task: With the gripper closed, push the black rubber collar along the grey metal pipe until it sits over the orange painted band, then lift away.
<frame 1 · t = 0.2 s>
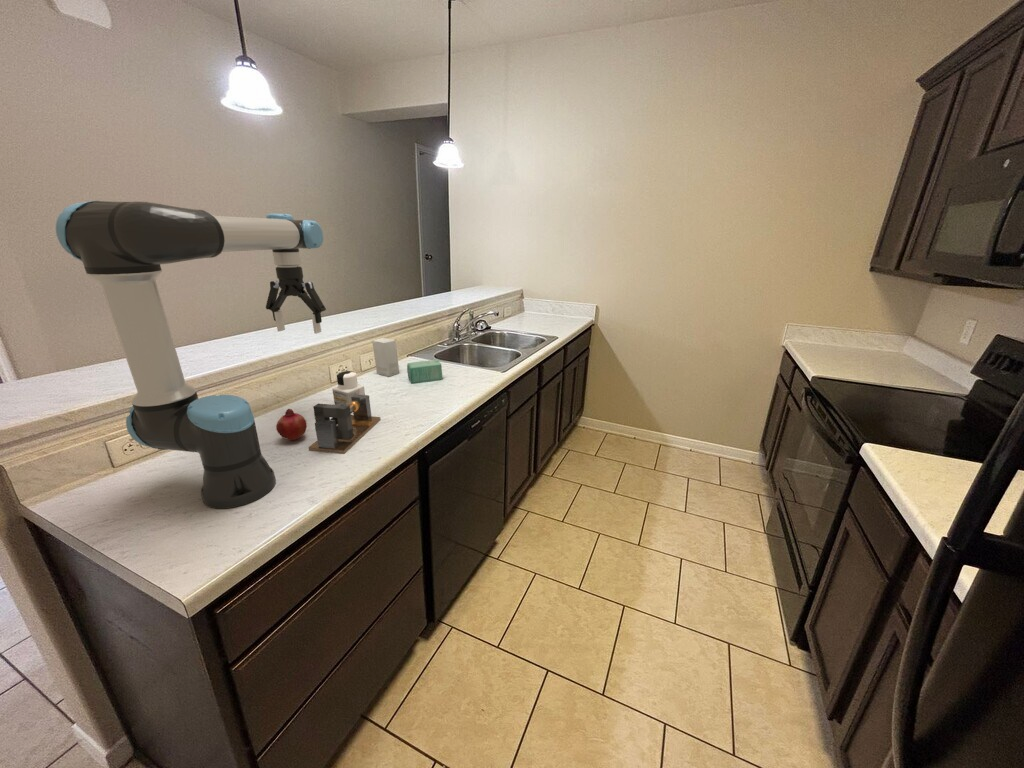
hand: (299, 331, 138), 28 cm above the worktop, fingers open, 13 cm apart
box: (425, 379, 177), on the worktop
pipe rig: (347, 433, 129), on the worktop
collar: (333, 421, 121), point 7 cm above the worktop, slide at 0.0 cm
skincare box: (387, 374, 184), on the worktop
container: (351, 407, 149), on the worktop
fruit: (294, 439, 125), on the worktop
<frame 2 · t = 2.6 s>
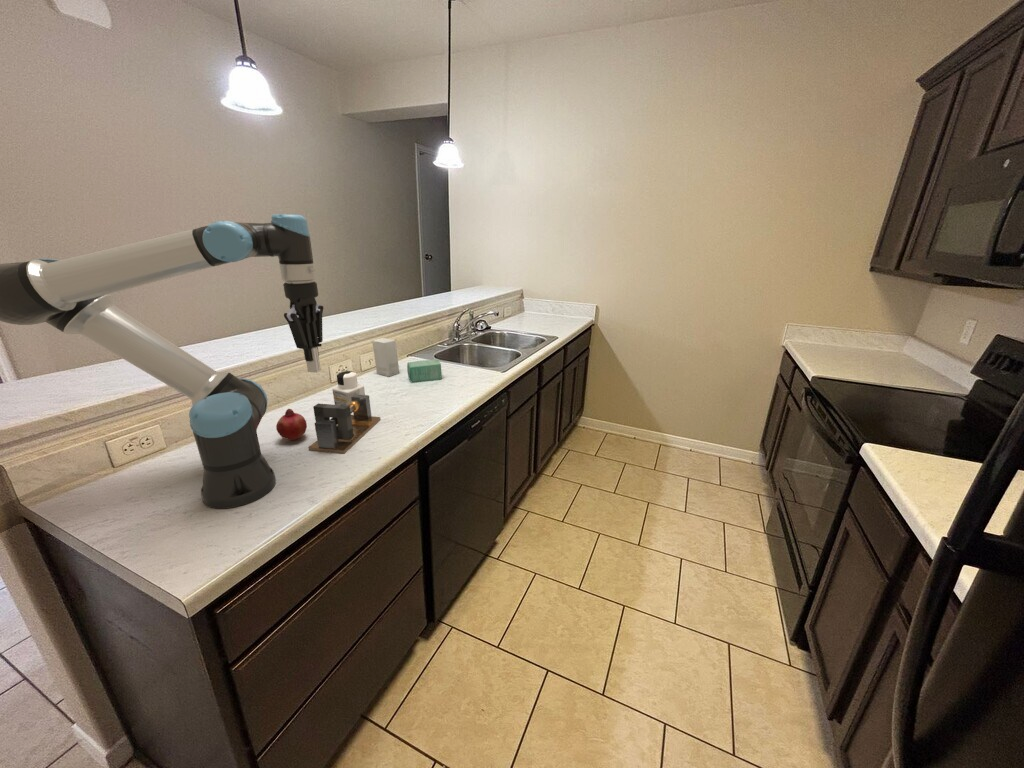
hand: (314, 371, 110), 24 cm above the worktop, fingers closed
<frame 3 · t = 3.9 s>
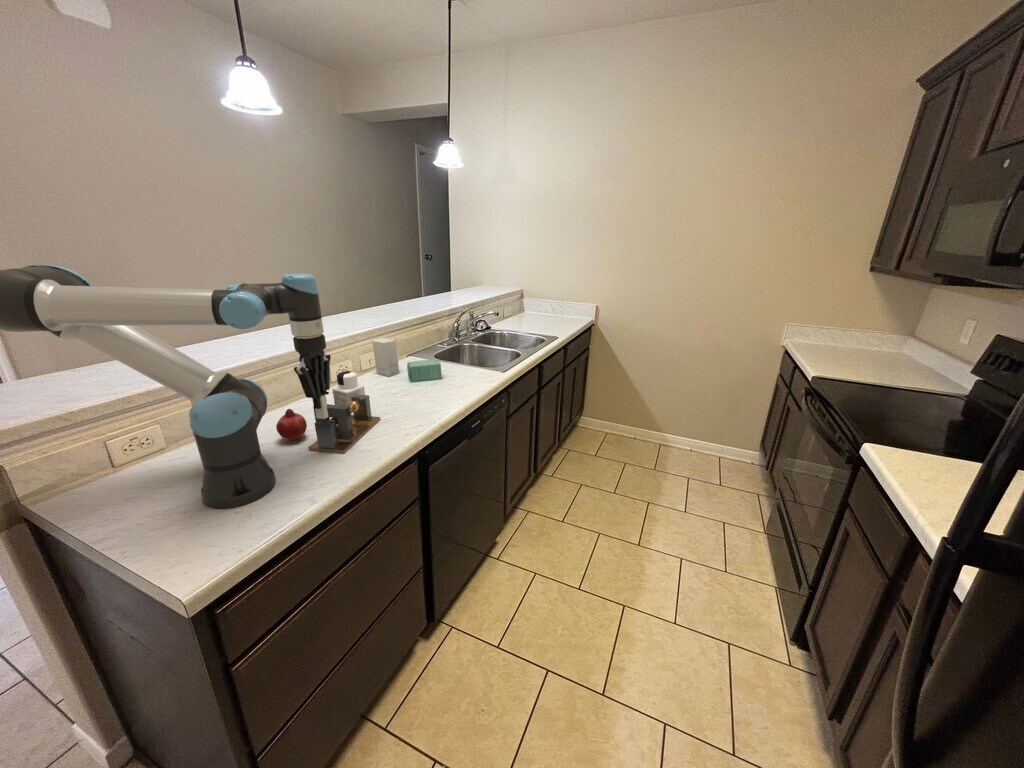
hand: (322, 417, 115), 11 cm above the worktop, fingers closed
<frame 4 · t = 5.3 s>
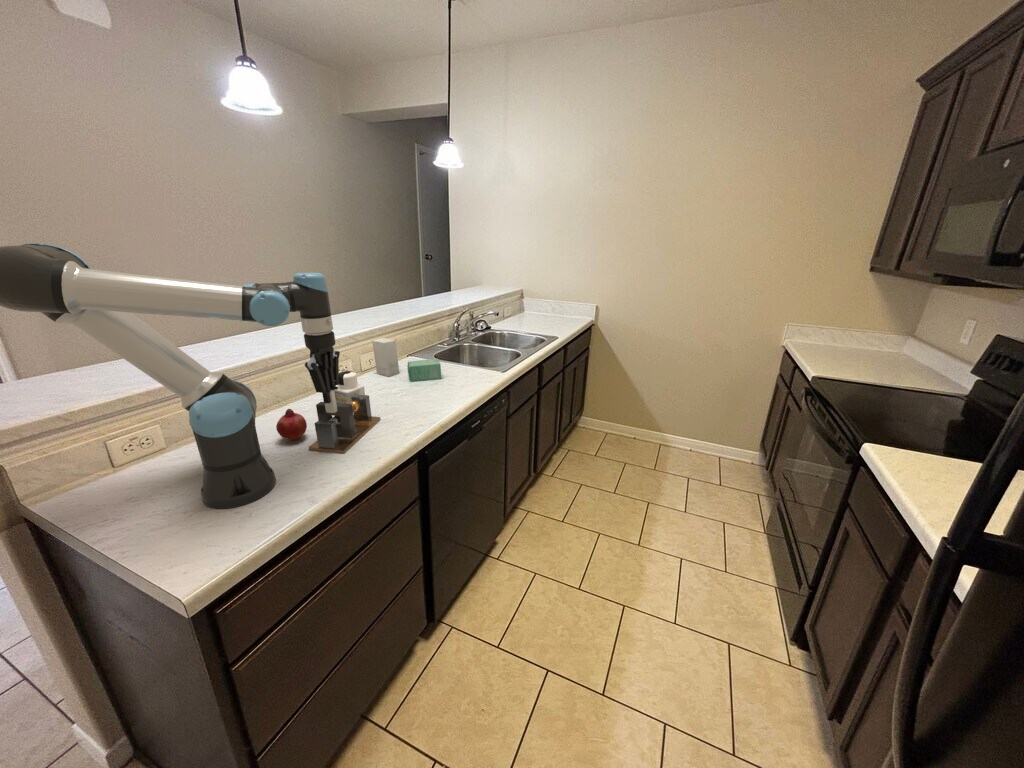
hand: (331, 411, 119), 11 cm above the worktop, fingers closed
collar: (336, 419, 122), point 7 cm above the worktop, slide at 1.3 cm, touching gripper
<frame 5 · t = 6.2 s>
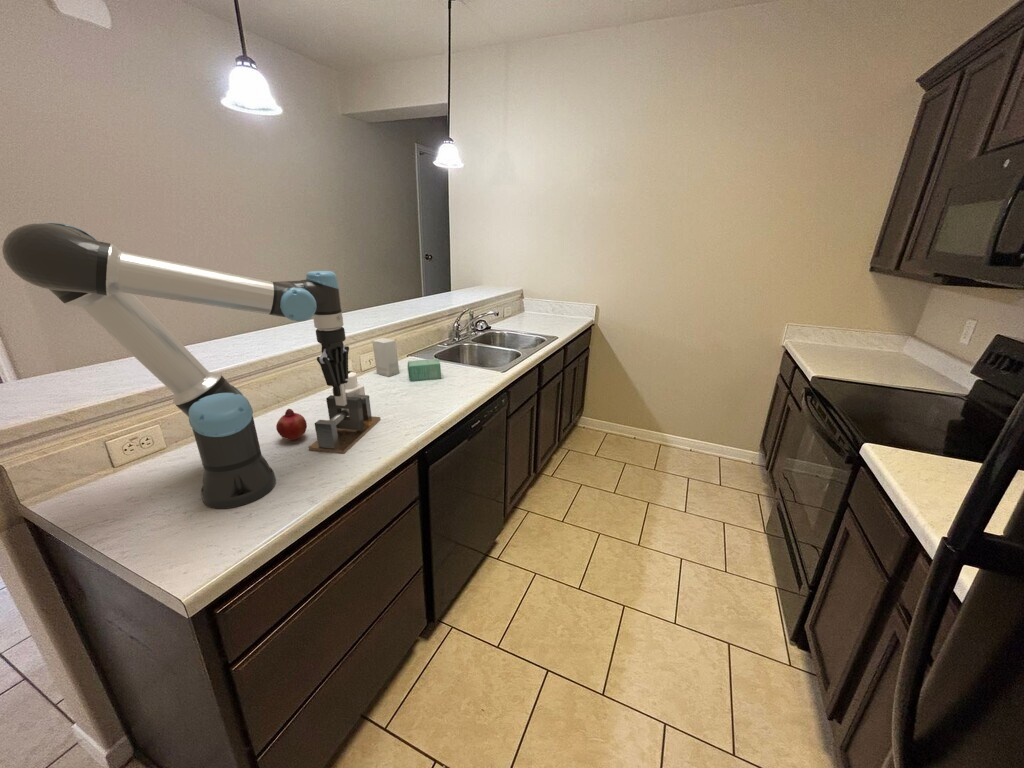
hand: (341, 404, 124), 11 cm above the worktop, fingers closed
collar: (345, 412, 127), point 7 cm above the worktop, slide at 6.6 cm, touching gripper
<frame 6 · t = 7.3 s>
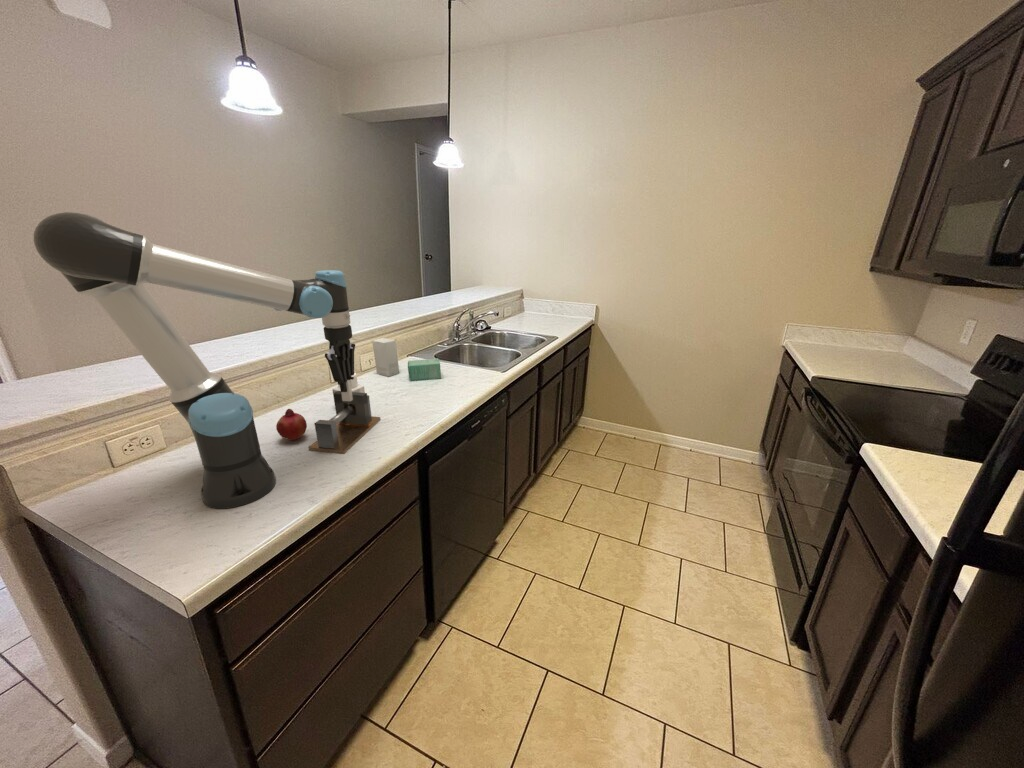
hand: (347, 400, 128), 10 cm above the worktop, fingers closed
collar: (352, 407, 131), point 7 cm above the worktop, slide at 10.4 cm, touching gripper
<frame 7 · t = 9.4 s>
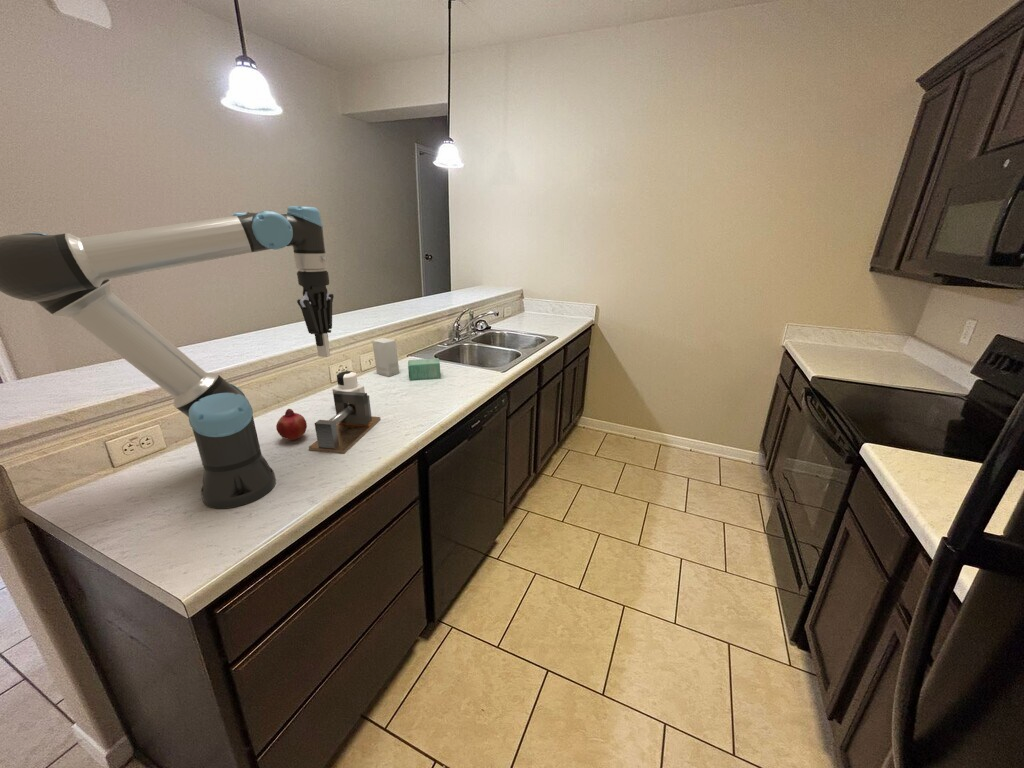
hand: (324, 356, 116), 26 cm above the worktop, fingers closed
collar: (352, 407, 131), point 7 cm above the worktop, slide at 10.4 cm
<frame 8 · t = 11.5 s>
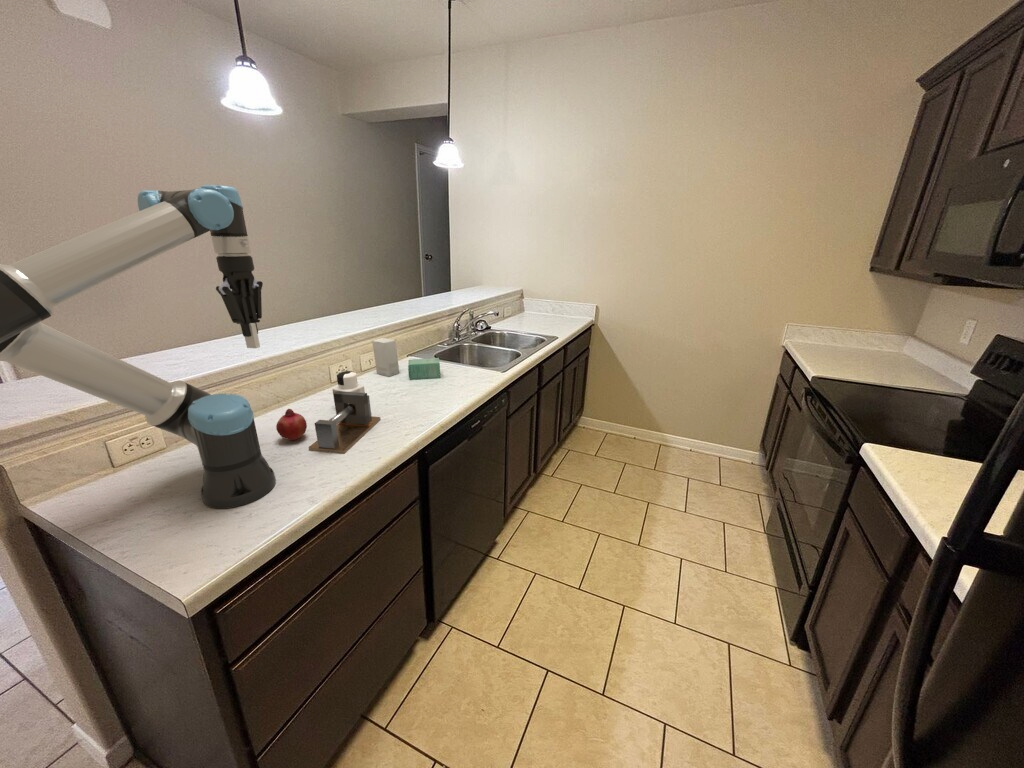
hand: (253, 347, 110), 30 cm above the worktop, fingers closed
at the end: collar slide at 10.4 cm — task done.
